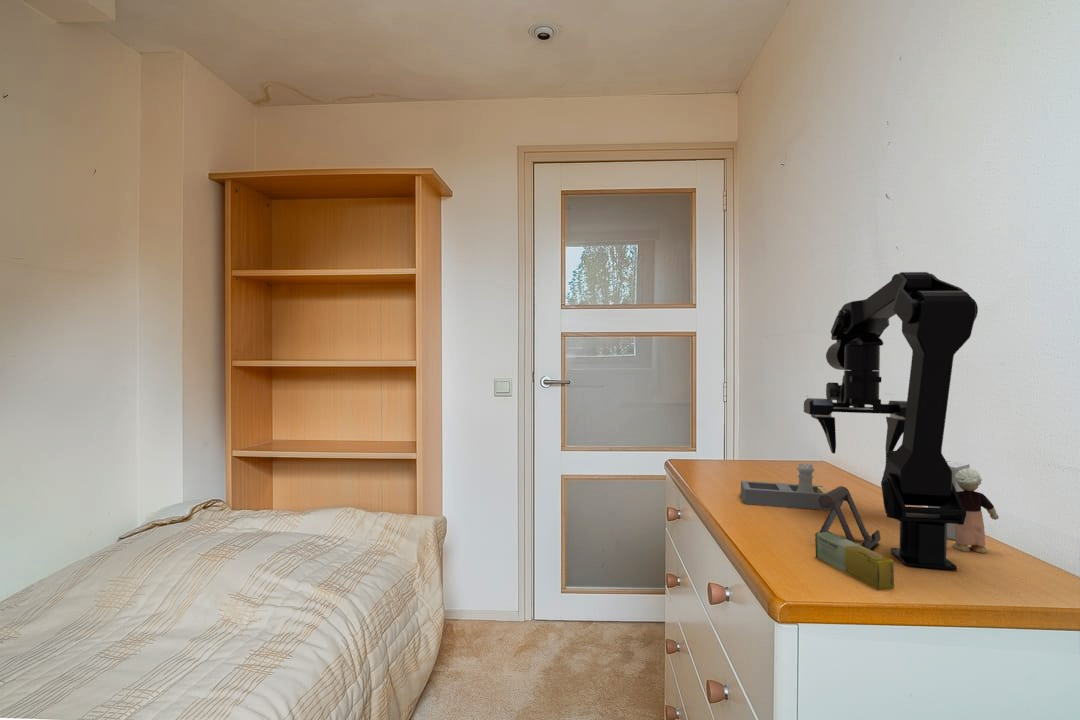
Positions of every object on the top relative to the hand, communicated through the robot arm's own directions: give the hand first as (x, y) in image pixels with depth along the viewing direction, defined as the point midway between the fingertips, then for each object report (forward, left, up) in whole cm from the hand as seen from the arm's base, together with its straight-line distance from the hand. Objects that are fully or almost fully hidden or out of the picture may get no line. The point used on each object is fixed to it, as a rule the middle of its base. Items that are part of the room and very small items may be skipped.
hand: (860, 454), depth 104 cm
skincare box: (-6, -12, -12) cm, 18 cm away
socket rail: (+8, +12, -12) cm, 18 cm away
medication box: (-30, +9, -12) cm, 33 cm away
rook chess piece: (+8, +8, -12) cm, 16 cm away
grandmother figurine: (-14, -11, -12) cm, 22 cm away
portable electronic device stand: (-17, +7, -12) cm, 22 cm away
